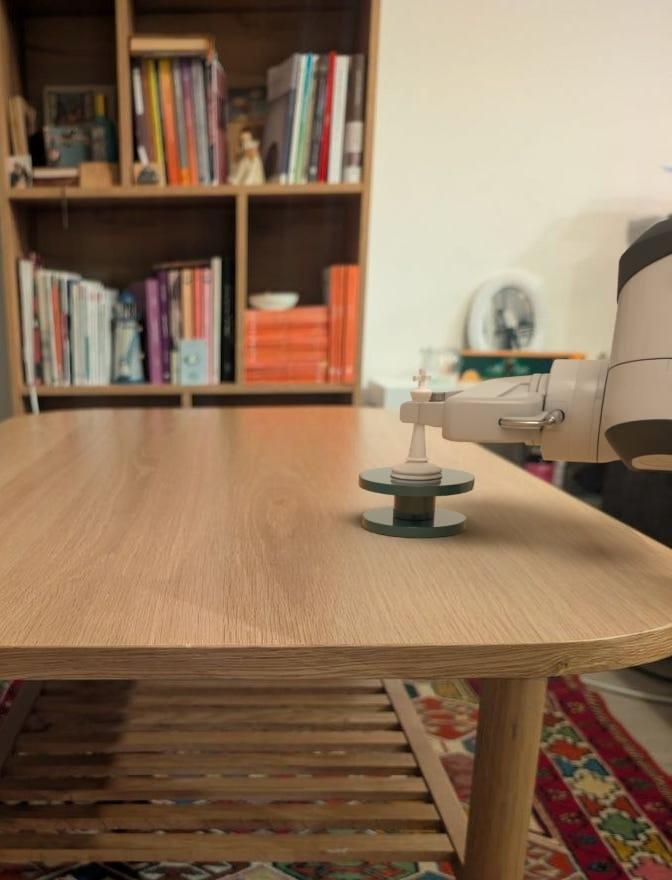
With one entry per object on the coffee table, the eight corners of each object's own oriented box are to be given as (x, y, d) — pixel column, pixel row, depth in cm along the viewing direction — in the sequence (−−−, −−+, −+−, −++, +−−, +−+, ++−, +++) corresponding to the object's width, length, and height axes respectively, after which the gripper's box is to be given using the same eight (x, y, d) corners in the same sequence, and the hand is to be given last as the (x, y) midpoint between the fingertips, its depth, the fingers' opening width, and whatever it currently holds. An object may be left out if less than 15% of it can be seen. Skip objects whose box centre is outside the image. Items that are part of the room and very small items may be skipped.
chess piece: (381, 473, 93) (386, 368, 90) (425, 469, 95) (432, 366, 91) (406, 481, 89) (412, 371, 85) (452, 478, 90) (460, 369, 87)
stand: (465, 515, 98) (468, 466, 96) (476, 540, 87) (481, 486, 86) (357, 513, 100) (359, 465, 98) (356, 537, 89) (358, 485, 88)
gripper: (551, 464, 76) (383, 455, 82) (575, 432, 94) (435, 426, 100) (560, 384, 74) (387, 380, 80) (583, 366, 92) (439, 364, 97)
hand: (414, 406), depth 90 cm, fingers open, 8 cm apart
